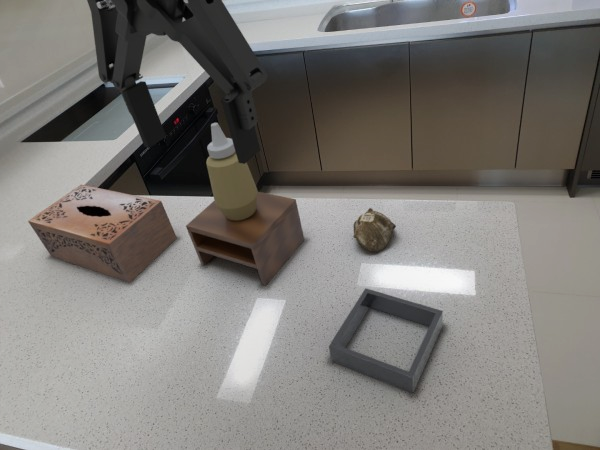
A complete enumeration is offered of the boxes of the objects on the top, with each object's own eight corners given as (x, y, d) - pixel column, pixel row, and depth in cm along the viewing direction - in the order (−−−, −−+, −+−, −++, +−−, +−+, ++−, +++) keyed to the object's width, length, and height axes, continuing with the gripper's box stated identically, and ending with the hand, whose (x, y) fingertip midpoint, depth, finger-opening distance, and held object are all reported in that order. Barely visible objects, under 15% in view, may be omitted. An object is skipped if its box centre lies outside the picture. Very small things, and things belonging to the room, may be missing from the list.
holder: (413, 393, 62) (412, 378, 60) (331, 361, 69) (328, 346, 67) (442, 326, 70) (442, 310, 68) (367, 302, 77) (365, 288, 74)
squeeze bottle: (245, 229, 82) (217, 138, 71) (211, 220, 86) (180, 133, 75) (270, 203, 87) (248, 115, 76) (237, 196, 91) (211, 111, 80)
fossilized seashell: (368, 207, 93) (339, 240, 89) (378, 191, 87) (347, 226, 83) (398, 230, 92) (370, 265, 88) (410, 215, 86) (380, 252, 82)
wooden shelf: (265, 286, 84) (253, 244, 78) (201, 264, 92) (185, 225, 86) (304, 239, 93) (295, 199, 87) (242, 224, 101) (230, 185, 95)
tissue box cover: (177, 238, 101) (161, 200, 95) (130, 282, 91) (109, 244, 85) (99, 218, 113) (81, 184, 107) (50, 256, 103) (27, 221, 97)
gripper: (274, -124, 32) (317, 144, 45) (65, -78, 45) (145, 122, 57) (205, -111, 28) (275, 185, 40) (-6, -63, 40) (98, 151, 53)
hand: (199, 149), depth 49 cm, fingers open, 13 cm apart
